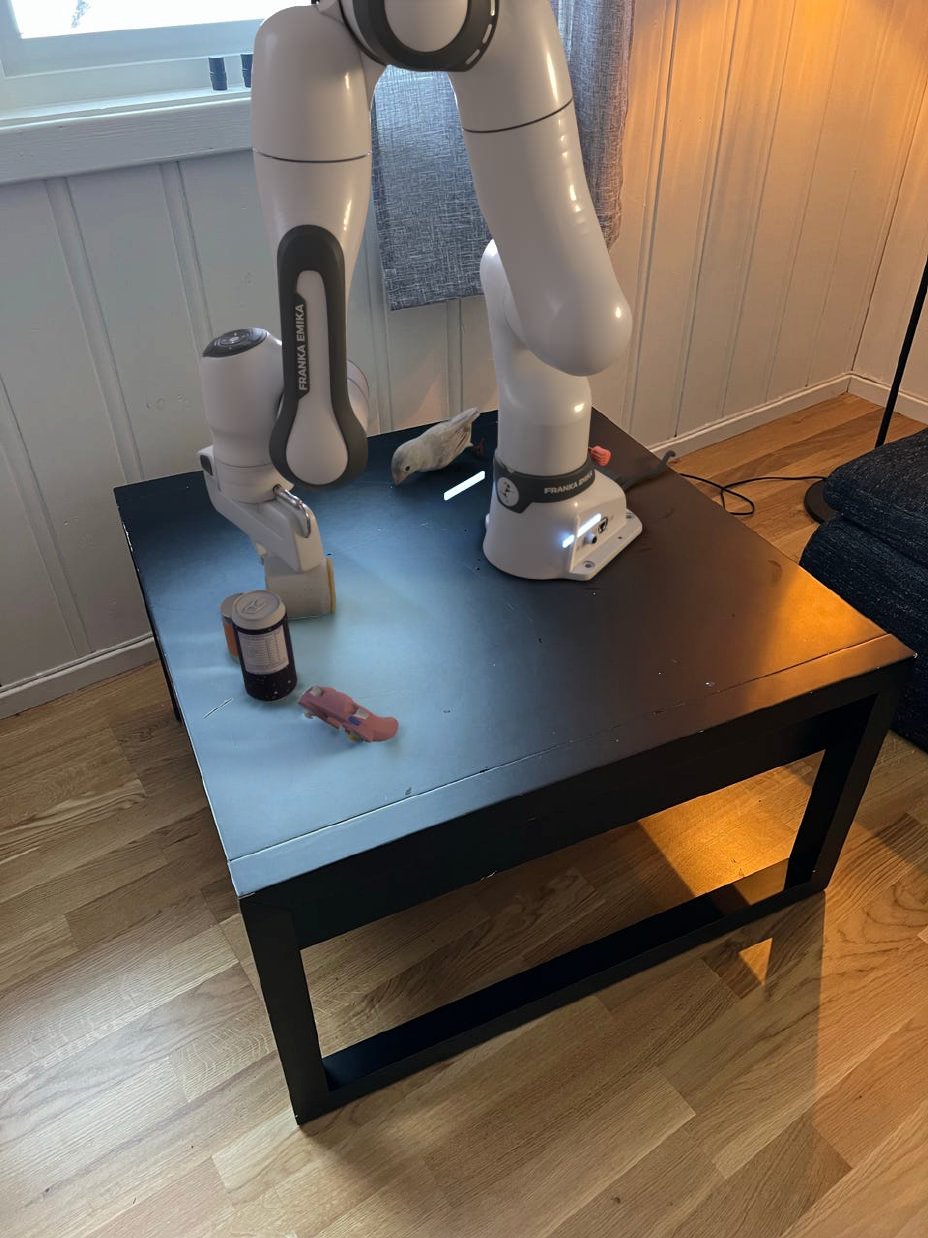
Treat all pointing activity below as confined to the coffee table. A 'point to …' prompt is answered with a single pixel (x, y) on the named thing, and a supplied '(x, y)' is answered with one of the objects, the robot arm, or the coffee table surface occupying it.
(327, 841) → the coffee table surface
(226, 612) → the food tin
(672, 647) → the coffee table surface
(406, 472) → the decorative bird
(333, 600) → the ceramic mug
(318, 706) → the red toy car
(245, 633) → the beverage can
